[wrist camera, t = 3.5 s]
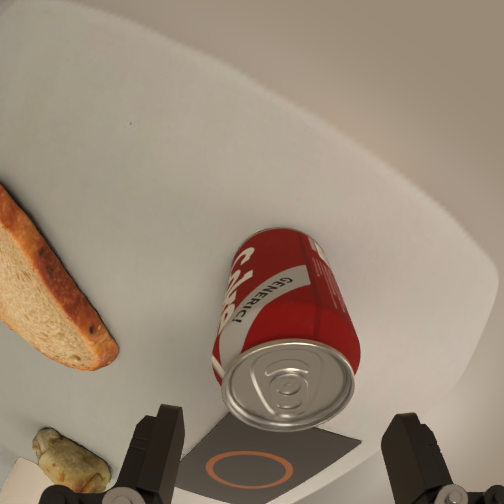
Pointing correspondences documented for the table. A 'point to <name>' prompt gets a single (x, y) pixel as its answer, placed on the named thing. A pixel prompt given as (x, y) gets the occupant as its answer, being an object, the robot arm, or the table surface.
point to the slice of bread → (46, 297)
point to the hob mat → (257, 461)
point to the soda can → (284, 335)
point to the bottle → (24, 484)
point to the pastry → (70, 463)
